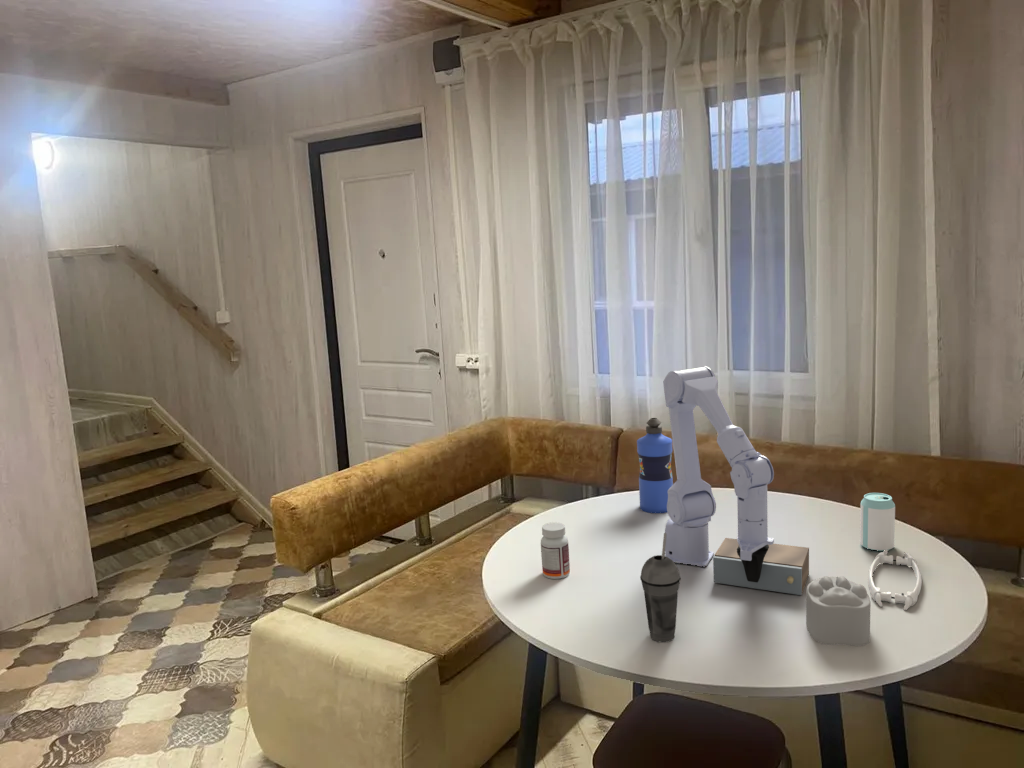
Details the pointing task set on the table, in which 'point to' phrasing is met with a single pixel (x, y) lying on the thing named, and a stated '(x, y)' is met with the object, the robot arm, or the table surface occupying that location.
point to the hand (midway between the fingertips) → (753, 580)
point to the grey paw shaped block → (838, 611)
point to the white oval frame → (878, 596)
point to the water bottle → (654, 468)
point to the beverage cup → (661, 595)
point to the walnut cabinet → (773, 555)
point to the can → (877, 522)
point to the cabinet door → (770, 578)
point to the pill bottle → (554, 551)
